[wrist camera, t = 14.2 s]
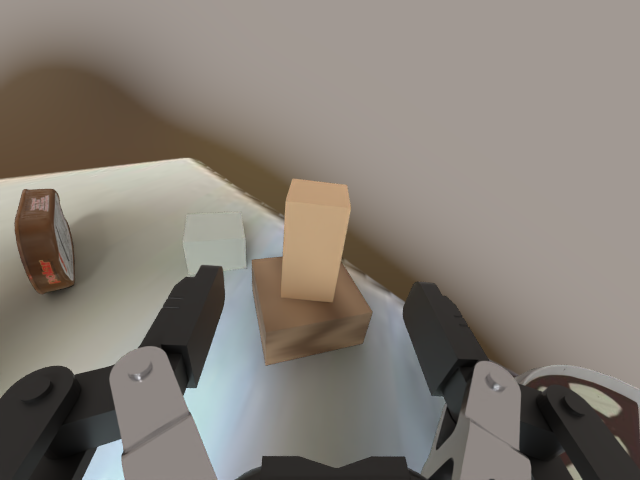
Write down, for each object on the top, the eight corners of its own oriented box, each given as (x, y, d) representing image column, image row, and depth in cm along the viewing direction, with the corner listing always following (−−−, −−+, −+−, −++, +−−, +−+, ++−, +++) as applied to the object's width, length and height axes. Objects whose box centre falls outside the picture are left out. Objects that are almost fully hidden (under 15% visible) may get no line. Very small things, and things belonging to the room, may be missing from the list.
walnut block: (265, 367, 25) (265, 332, 22) (252, 292, 33) (251, 259, 30) (362, 345, 28) (372, 312, 26) (329, 281, 36) (334, 251, 33)
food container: (472, 397, 24) (532, 323, 19) (553, 458, 21) (652, 389, 16) (403, 534, 17) (470, 474, 11) (513, 667, 13) (685, 672, 8)
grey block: (188, 275, 34) (182, 242, 31) (192, 244, 39) (187, 213, 37) (246, 269, 36) (245, 237, 33) (242, 240, 41) (240, 211, 39)
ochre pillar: (280, 297, 26) (285, 200, 20) (287, 265, 30) (292, 178, 25) (332, 302, 26) (351, 208, 21) (331, 270, 30) (346, 185, 25)
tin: (48, 238, 36) (17, 178, 32) (78, 233, 38) (53, 175, 34) (43, 311, 27) (-2, 241, 22) (83, 299, 29) (50, 232, 24)
